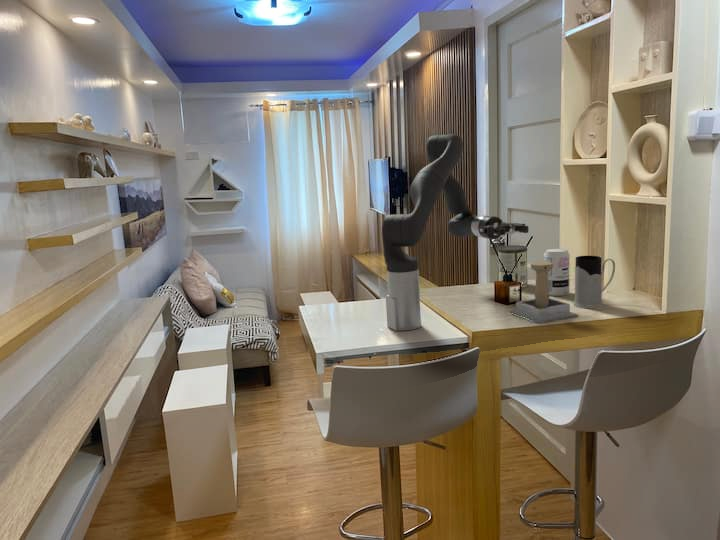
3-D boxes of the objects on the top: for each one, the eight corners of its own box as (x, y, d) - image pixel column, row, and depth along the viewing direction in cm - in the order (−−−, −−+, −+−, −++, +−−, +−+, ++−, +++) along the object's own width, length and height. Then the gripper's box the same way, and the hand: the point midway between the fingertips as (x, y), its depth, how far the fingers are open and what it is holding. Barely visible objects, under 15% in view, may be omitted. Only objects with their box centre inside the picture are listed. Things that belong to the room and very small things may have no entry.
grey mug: (567, 303, 191) (567, 257, 188) (604, 297, 195) (604, 252, 192) (585, 309, 183) (585, 261, 180) (623, 303, 187) (624, 256, 184)
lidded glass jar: (504, 281, 227) (503, 244, 225) (531, 283, 222) (530, 245, 219) (494, 287, 219) (493, 249, 216) (522, 289, 213) (522, 250, 211)
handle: (555, 313, 179) (555, 264, 176) (535, 315, 178) (535, 265, 175) (548, 309, 184) (548, 261, 181) (528, 311, 183) (528, 263, 180)
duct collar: (538, 323, 172) (538, 311, 171) (509, 313, 185) (509, 301, 184) (577, 316, 177) (577, 304, 176) (546, 306, 190) (546, 295, 189)
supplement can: (548, 290, 210) (548, 247, 207) (572, 292, 205) (572, 248, 202) (540, 295, 203) (540, 251, 201) (565, 297, 199) (565, 252, 196)
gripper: (468, 217, 199) (496, 220, 184) (504, 214, 204) (535, 216, 189) (468, 239, 201) (496, 244, 186) (504, 236, 206) (535, 240, 191)
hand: (516, 230), depth 188 cm, fingers open, 8 cm apart
